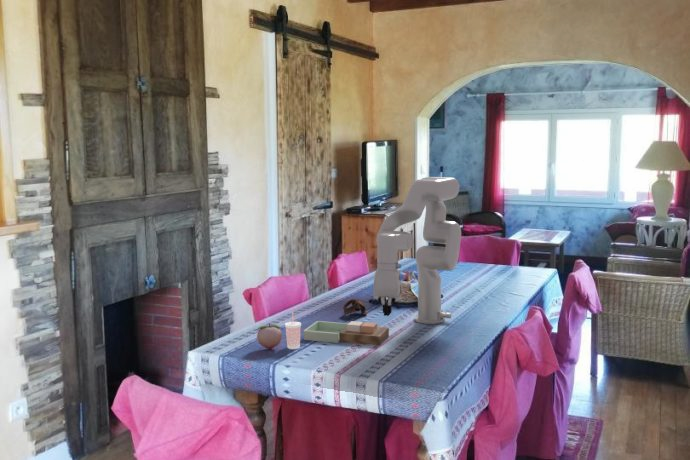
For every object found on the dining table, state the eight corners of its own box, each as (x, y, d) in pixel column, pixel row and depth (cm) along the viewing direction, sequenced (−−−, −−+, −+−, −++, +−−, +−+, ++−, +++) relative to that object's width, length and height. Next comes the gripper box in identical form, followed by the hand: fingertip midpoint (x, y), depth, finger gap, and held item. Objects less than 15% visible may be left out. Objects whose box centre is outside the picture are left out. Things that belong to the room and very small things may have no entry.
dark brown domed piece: (368, 319, 290) (359, 304, 287) (349, 328, 292) (339, 313, 290) (369, 305, 301) (360, 290, 298) (350, 313, 303) (341, 299, 301)
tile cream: (363, 328, 262) (363, 322, 262) (359, 331, 257) (359, 325, 257) (351, 327, 264) (351, 321, 263) (347, 330, 259) (347, 324, 259)
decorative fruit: (261, 354, 244) (260, 327, 242) (255, 348, 251) (254, 321, 250) (286, 350, 247) (285, 324, 246) (279, 344, 255) (278, 318, 253)
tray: (350, 332, 269) (350, 323, 269) (337, 342, 256) (337, 333, 255) (317, 329, 274) (317, 320, 274) (303, 339, 261) (303, 330, 260)
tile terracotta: (377, 329, 260) (377, 323, 260) (373, 333, 256) (373, 326, 255) (364, 328, 262) (364, 322, 262) (360, 332, 257) (360, 325, 257)
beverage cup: (286, 344, 255) (285, 308, 253) (302, 344, 254) (301, 308, 252) (284, 349, 248) (283, 312, 247) (301, 349, 248) (300, 312, 246)
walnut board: (388, 336, 263) (388, 327, 262) (379, 345, 252) (379, 336, 251) (349, 333, 268) (349, 324, 268) (339, 341, 257) (339, 332, 256)
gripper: (409, 266, 254) (408, 314, 256) (371, 264, 259) (371, 311, 261) (404, 269, 247) (403, 318, 249) (365, 267, 252) (365, 315, 254)
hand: (387, 314), depth 255 cm, fingers closed
